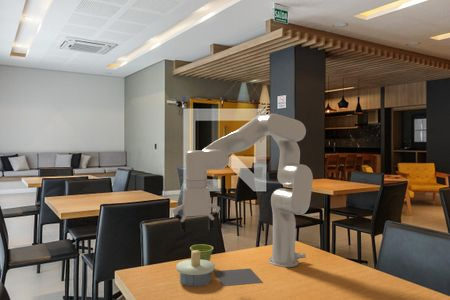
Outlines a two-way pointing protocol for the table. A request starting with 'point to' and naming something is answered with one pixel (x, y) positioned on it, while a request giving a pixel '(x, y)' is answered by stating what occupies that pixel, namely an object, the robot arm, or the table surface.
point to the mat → (237, 277)
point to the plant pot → (203, 251)
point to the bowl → (195, 279)
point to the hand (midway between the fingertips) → (197, 231)
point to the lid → (195, 265)
